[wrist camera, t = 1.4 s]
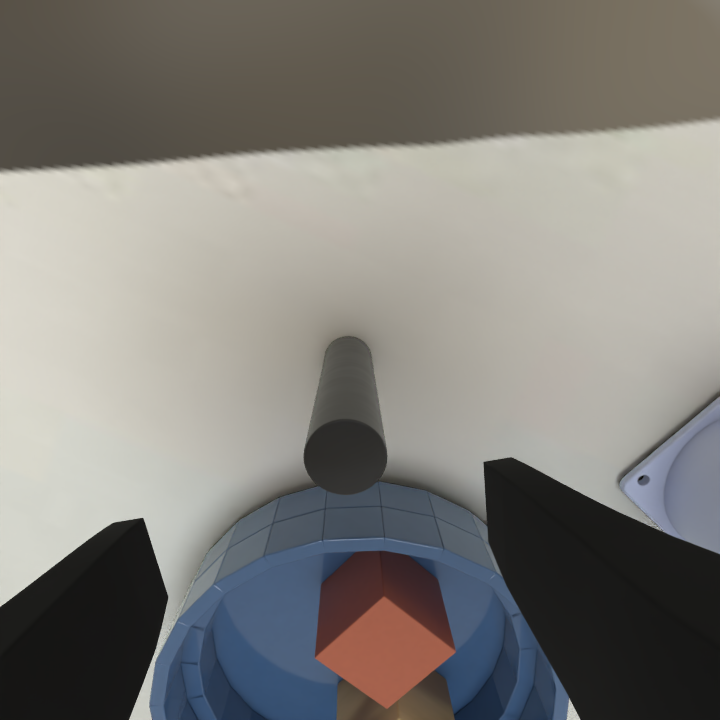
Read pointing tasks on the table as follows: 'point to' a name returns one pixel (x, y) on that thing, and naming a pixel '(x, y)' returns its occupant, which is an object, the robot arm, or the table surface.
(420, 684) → the maple block
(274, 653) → the bowl
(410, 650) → the terracotta block
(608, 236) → the table surface
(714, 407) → the robot arm
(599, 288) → the table surface
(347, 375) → the dark grey rod
